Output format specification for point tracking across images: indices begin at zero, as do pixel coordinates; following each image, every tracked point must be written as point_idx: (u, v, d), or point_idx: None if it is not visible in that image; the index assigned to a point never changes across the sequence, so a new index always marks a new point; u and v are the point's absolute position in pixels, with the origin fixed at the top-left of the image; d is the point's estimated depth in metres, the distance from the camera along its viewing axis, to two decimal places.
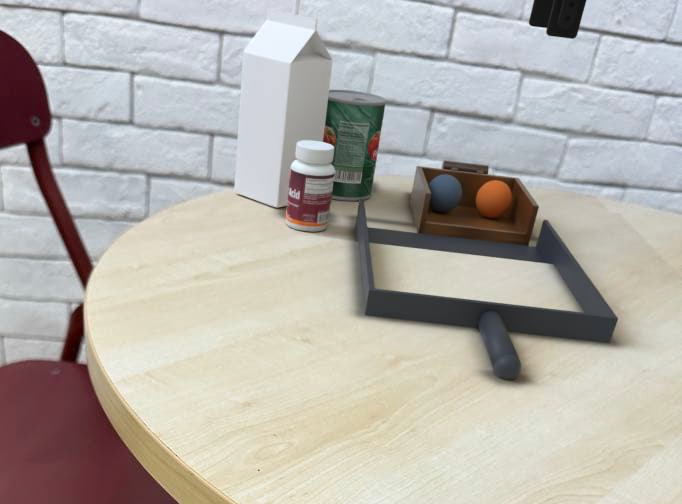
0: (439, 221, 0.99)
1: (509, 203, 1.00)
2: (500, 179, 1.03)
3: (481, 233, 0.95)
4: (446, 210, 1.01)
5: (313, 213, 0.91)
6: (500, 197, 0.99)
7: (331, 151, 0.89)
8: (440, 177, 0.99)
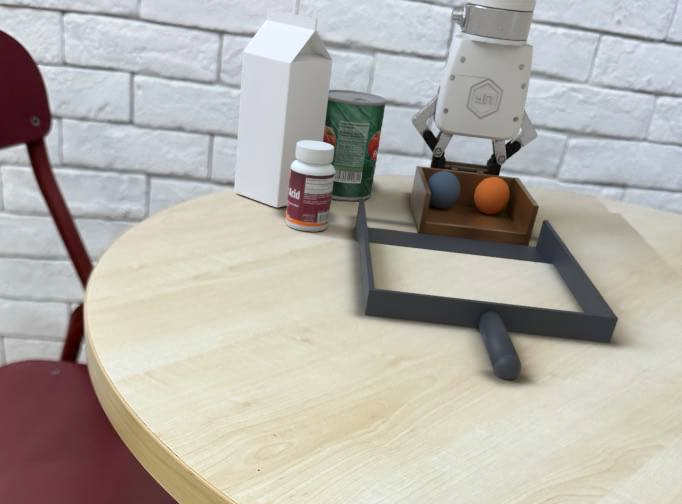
0: (439, 221, 0.99)
1: (508, 191, 1.01)
2: None
3: (481, 233, 0.95)
4: (448, 197, 1.01)
5: (313, 213, 0.91)
6: (499, 181, 1.00)
7: (331, 151, 0.89)
8: None
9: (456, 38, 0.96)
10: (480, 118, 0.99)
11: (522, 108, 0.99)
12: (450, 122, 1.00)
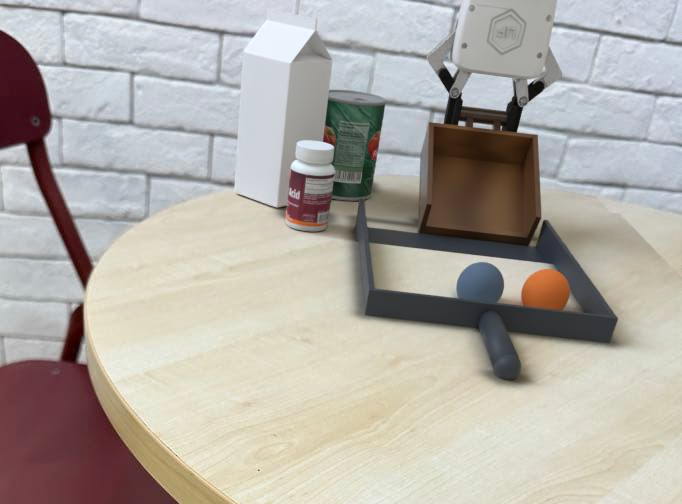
0: (443, 206, 0.97)
1: None
2: (517, 138, 0.97)
3: (481, 235, 0.95)
4: None
5: (313, 213, 0.91)
6: None
7: (331, 151, 0.89)
8: None
9: None
10: (501, 54, 0.92)
11: (547, 43, 0.91)
12: (469, 58, 0.92)
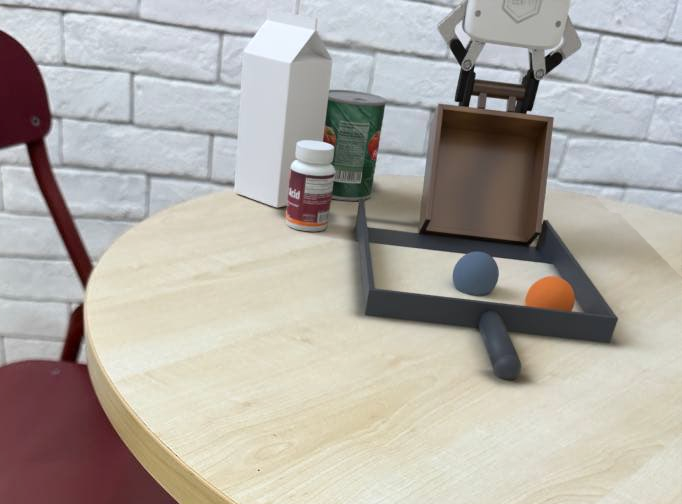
0: (447, 199, 0.95)
1: None
2: (531, 121, 0.92)
3: (481, 238, 0.95)
4: None
5: (313, 213, 0.91)
6: None
7: (331, 151, 0.89)
8: (471, 270, 0.77)
9: None
10: (517, 22, 0.86)
11: (566, 10, 0.86)
12: (482, 27, 0.87)
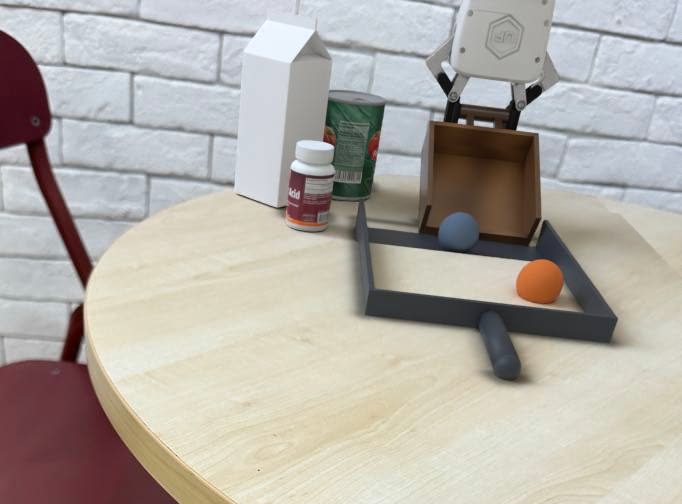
0: (443, 206, 0.97)
1: None
2: (518, 136, 0.97)
3: (481, 235, 0.95)
4: None
5: (313, 213, 0.91)
6: (543, 301, 0.78)
7: (331, 151, 0.89)
8: (453, 231, 0.87)
9: None
10: (499, 58, 0.93)
11: (544, 48, 0.92)
12: (467, 63, 0.93)
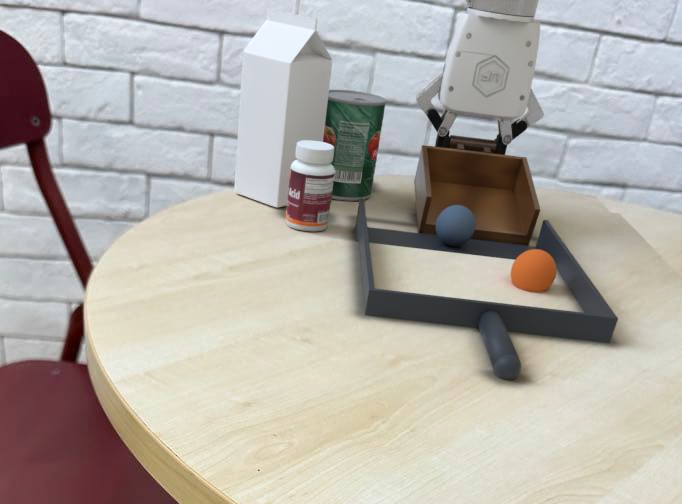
0: None
1: (554, 271, 0.80)
2: (507, 159, 1.01)
3: (481, 234, 0.95)
4: (459, 240, 0.91)
5: (313, 213, 0.91)
6: (543, 260, 0.79)
7: (331, 151, 0.89)
8: (451, 206, 0.90)
9: (462, 14, 0.94)
10: (486, 96, 0.98)
11: (529, 86, 0.97)
12: (455, 100, 0.98)
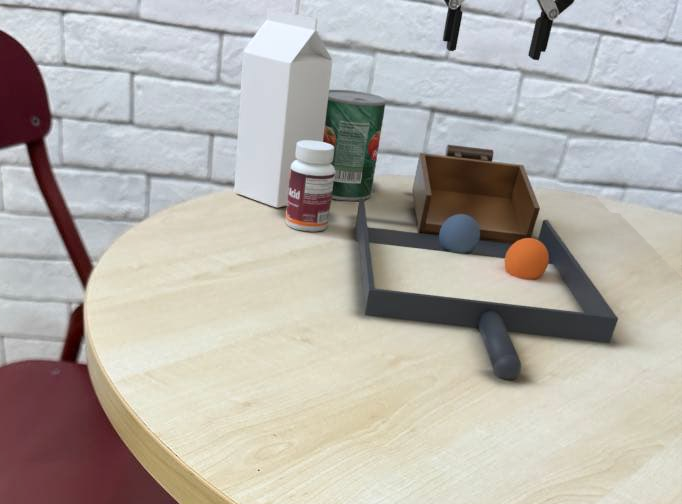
0: (440, 217, 0.98)
1: None
2: (504, 167, 1.02)
3: (481, 233, 0.95)
4: None
5: (313, 213, 0.91)
6: None
7: (331, 151, 0.89)
8: (453, 239, 0.87)
9: None
10: None
11: None
12: None
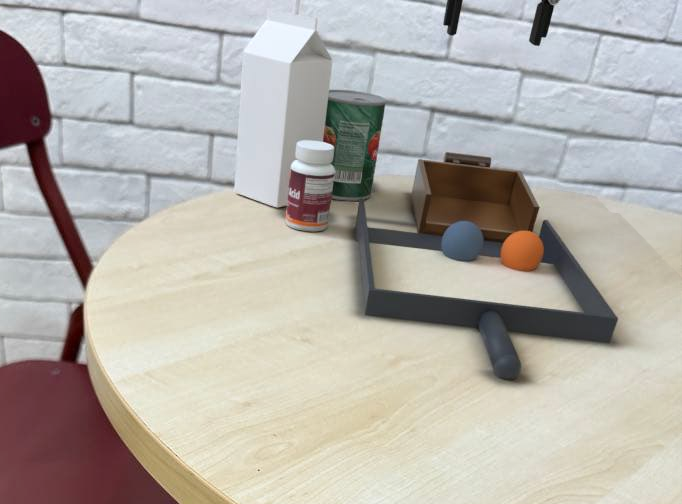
0: (440, 219, 0.98)
1: None
2: (502, 172, 1.02)
3: None
4: None
5: (313, 213, 0.91)
6: None
7: (331, 151, 0.89)
8: None
9: None
10: None
11: None
12: None
